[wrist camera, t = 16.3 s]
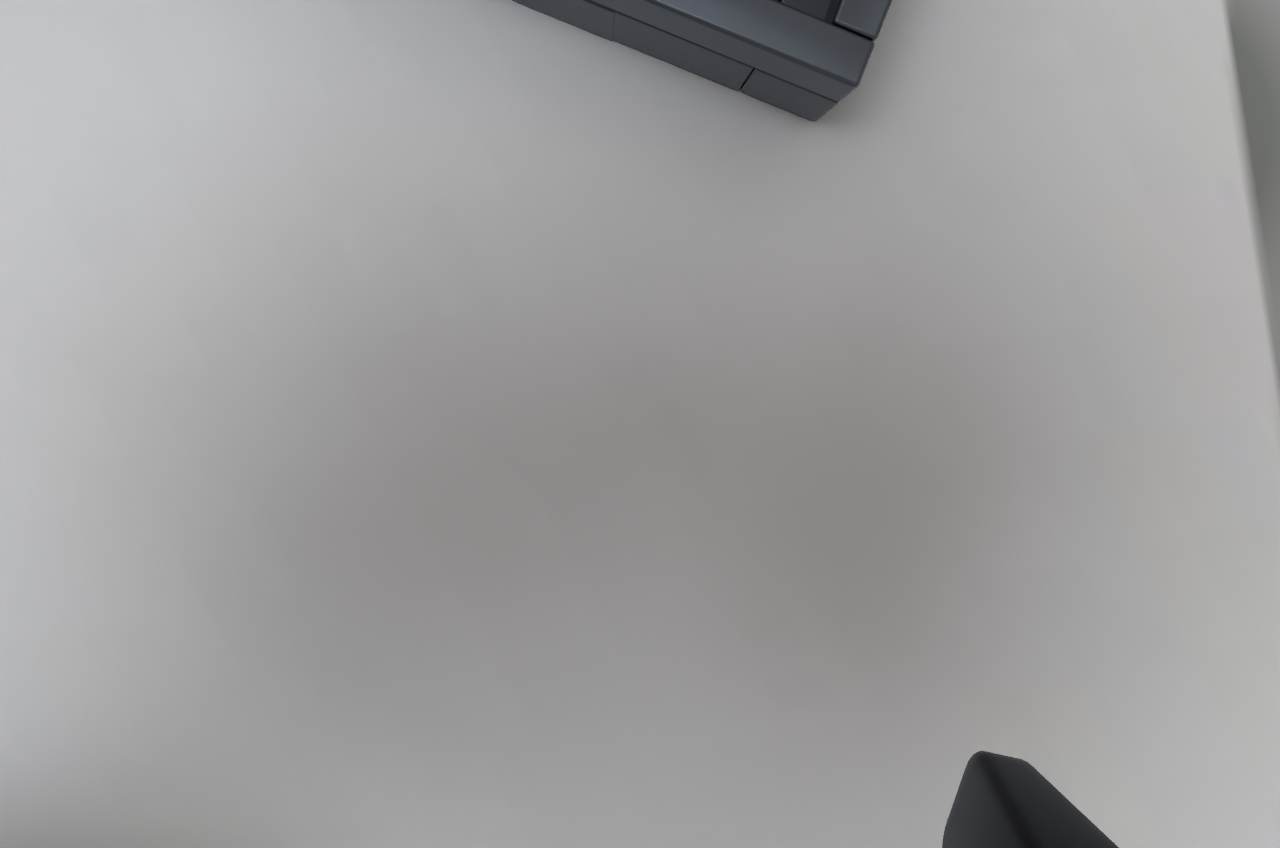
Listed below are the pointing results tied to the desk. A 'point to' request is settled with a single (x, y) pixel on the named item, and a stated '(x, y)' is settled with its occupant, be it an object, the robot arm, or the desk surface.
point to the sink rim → (775, 36)
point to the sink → (694, 52)
